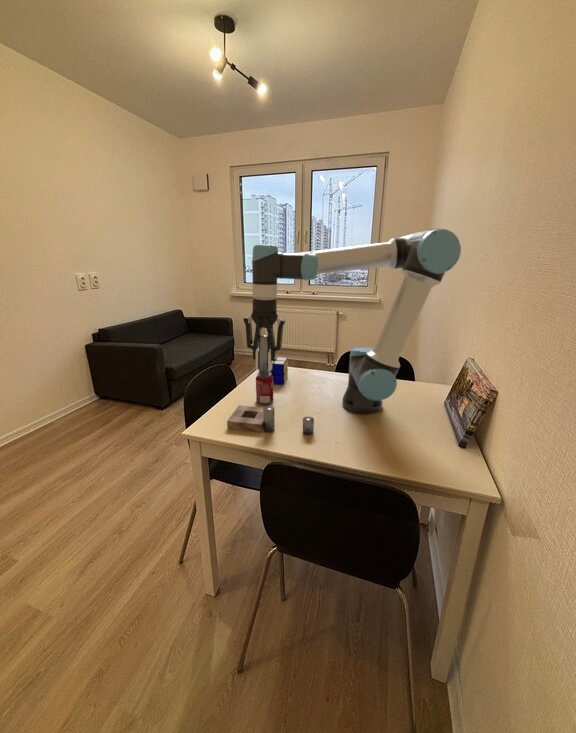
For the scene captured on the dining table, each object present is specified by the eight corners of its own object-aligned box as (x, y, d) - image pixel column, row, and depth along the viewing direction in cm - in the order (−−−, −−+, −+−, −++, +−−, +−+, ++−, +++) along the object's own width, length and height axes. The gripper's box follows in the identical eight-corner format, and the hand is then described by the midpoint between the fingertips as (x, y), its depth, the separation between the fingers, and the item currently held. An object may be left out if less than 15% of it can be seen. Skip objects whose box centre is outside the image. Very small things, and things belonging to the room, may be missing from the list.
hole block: (270, 415, 118) (270, 408, 117) (261, 432, 107) (261, 424, 106) (239, 412, 120) (238, 405, 119) (227, 428, 109) (227, 421, 108)
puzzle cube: (262, 383, 147) (261, 363, 143) (267, 376, 156) (267, 356, 153) (284, 385, 145) (284, 364, 142) (287, 377, 154) (287, 357, 151)
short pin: (314, 430, 108) (314, 417, 107) (312, 435, 105) (313, 422, 103) (303, 429, 109) (303, 416, 107) (301, 434, 106) (302, 421, 104)
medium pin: (275, 427, 110) (275, 406, 107) (273, 433, 106) (272, 411, 104) (265, 426, 110) (264, 405, 108) (262, 432, 107) (262, 410, 104)
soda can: (271, 406, 125) (270, 377, 121) (254, 404, 126) (253, 375, 123) (275, 398, 131) (274, 371, 127) (259, 397, 133) (258, 370, 129)
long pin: (270, 374, 110) (271, 334, 105) (267, 378, 106) (268, 337, 102) (260, 373, 110) (260, 333, 106) (257, 377, 107) (257, 336, 102)
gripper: (293, 298, 102) (290, 367, 109) (242, 295, 104) (243, 363, 112) (288, 301, 95) (286, 375, 102) (234, 297, 97) (236, 370, 105)
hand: (264, 369), depth 107 cm, fingers closed on long pin, 3 cm apart
